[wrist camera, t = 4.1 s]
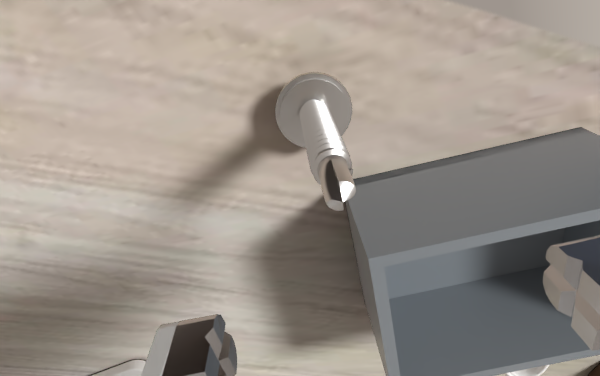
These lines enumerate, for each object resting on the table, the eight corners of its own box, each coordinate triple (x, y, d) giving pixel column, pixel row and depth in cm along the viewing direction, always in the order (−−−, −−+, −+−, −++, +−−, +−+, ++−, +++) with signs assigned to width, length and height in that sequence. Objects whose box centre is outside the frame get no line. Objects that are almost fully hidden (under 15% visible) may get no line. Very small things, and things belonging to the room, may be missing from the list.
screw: (283, 143, 26) (267, 75, 24) (350, 129, 26) (340, 58, 24) (292, 264, 15) (263, 157, 13) (411, 240, 15) (403, 127, 12)
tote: (364, 301, 34) (392, 395, 27) (341, 182, 28) (368, 259, 20) (559, 260, 34) (647, 345, 26) (581, 127, 27) (706, 185, 19)
